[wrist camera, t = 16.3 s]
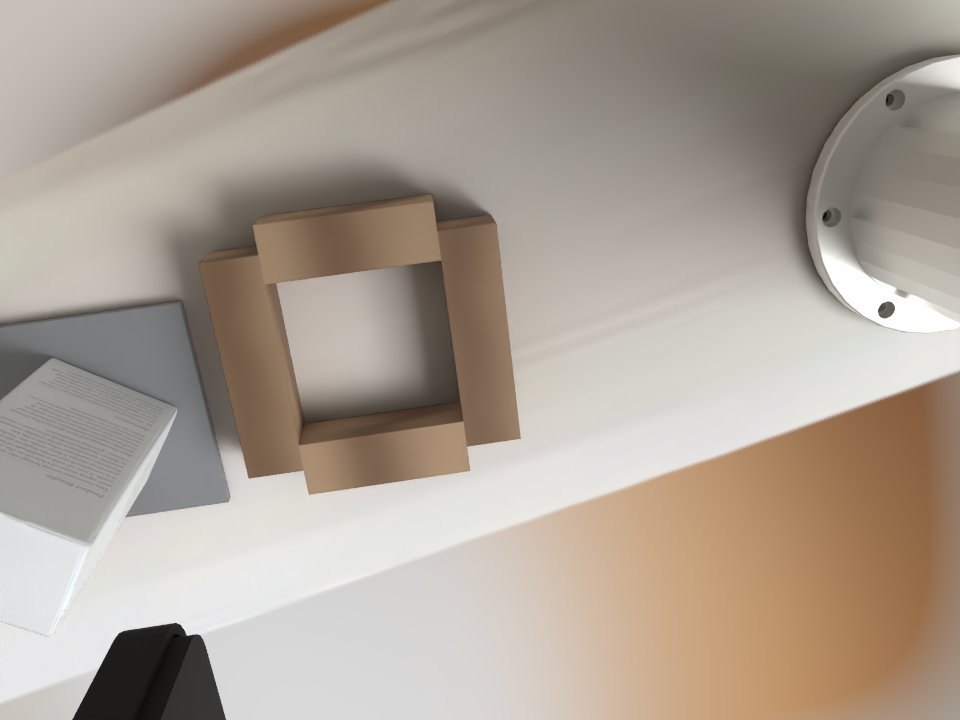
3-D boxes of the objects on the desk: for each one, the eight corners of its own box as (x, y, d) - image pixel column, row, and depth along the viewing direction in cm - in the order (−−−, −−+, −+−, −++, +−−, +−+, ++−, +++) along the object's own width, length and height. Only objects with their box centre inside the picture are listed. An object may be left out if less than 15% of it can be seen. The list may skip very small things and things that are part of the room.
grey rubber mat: (182, 300, 38) (179, 303, 37) (230, 496, 41) (228, 501, 40) (-44, 331, 37) (-50, 334, 37) (23, 527, 40) (18, 532, 40)
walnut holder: (487, 186, 37) (492, 193, 35) (516, 441, 41) (523, 462, 39) (205, 223, 37) (191, 233, 34) (262, 478, 41) (254, 502, 38)
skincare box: (22, 433, 38) (-137, 582, 27) (52, 353, 37) (-101, 474, 26) (151, 483, 40) (50, 644, 28) (184, 407, 39) (93, 543, 27)
